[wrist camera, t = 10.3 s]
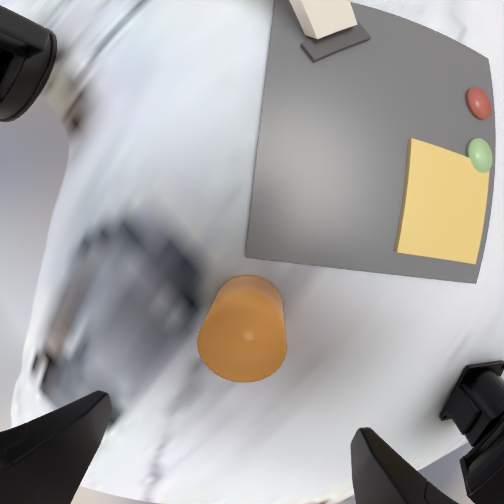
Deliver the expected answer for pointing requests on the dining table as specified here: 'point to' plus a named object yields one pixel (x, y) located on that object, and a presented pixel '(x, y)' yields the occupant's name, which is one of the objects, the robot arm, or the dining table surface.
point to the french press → (35, 63)
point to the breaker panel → (374, 149)
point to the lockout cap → (244, 330)
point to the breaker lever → (323, 16)
